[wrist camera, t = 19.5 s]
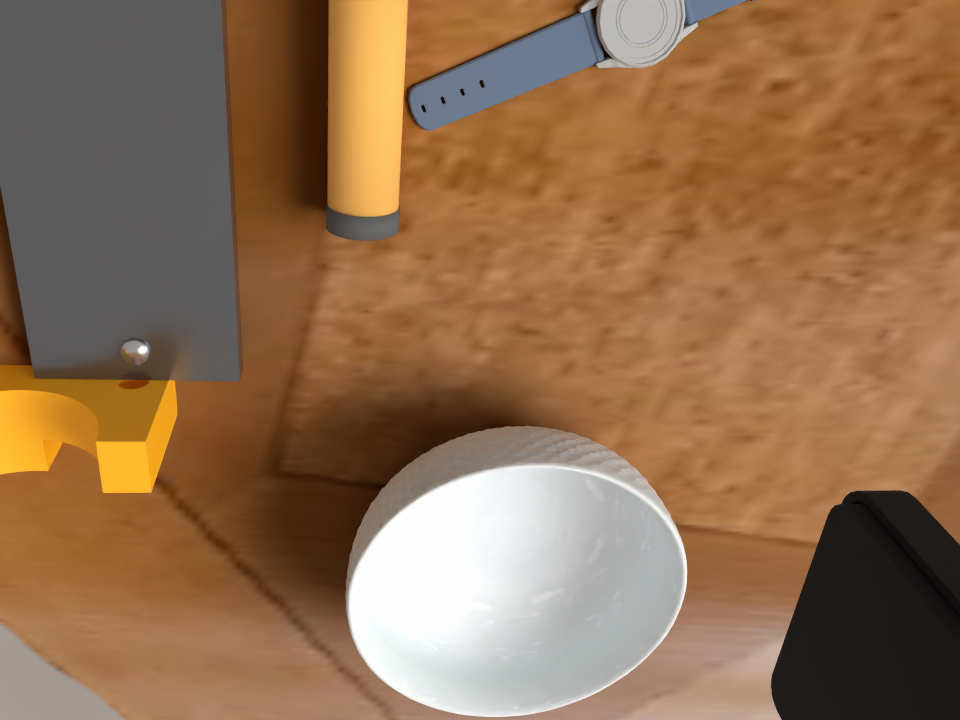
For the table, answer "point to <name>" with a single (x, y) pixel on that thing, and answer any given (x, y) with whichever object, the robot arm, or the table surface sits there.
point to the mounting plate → (121, 187)
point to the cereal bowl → (513, 573)
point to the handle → (365, 116)
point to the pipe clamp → (86, 424)
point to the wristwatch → (561, 54)
